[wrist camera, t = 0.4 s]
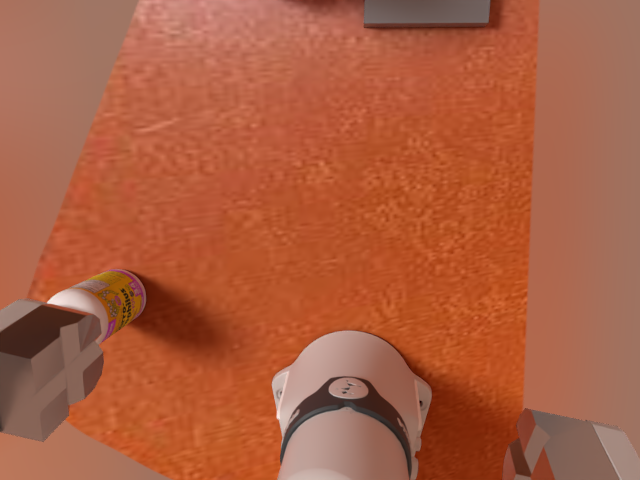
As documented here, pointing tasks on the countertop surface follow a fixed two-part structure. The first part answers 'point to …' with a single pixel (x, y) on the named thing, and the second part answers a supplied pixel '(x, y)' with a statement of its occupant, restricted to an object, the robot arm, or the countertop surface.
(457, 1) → the silver flat square block
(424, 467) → the countertop surface
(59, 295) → the supplement bottle
